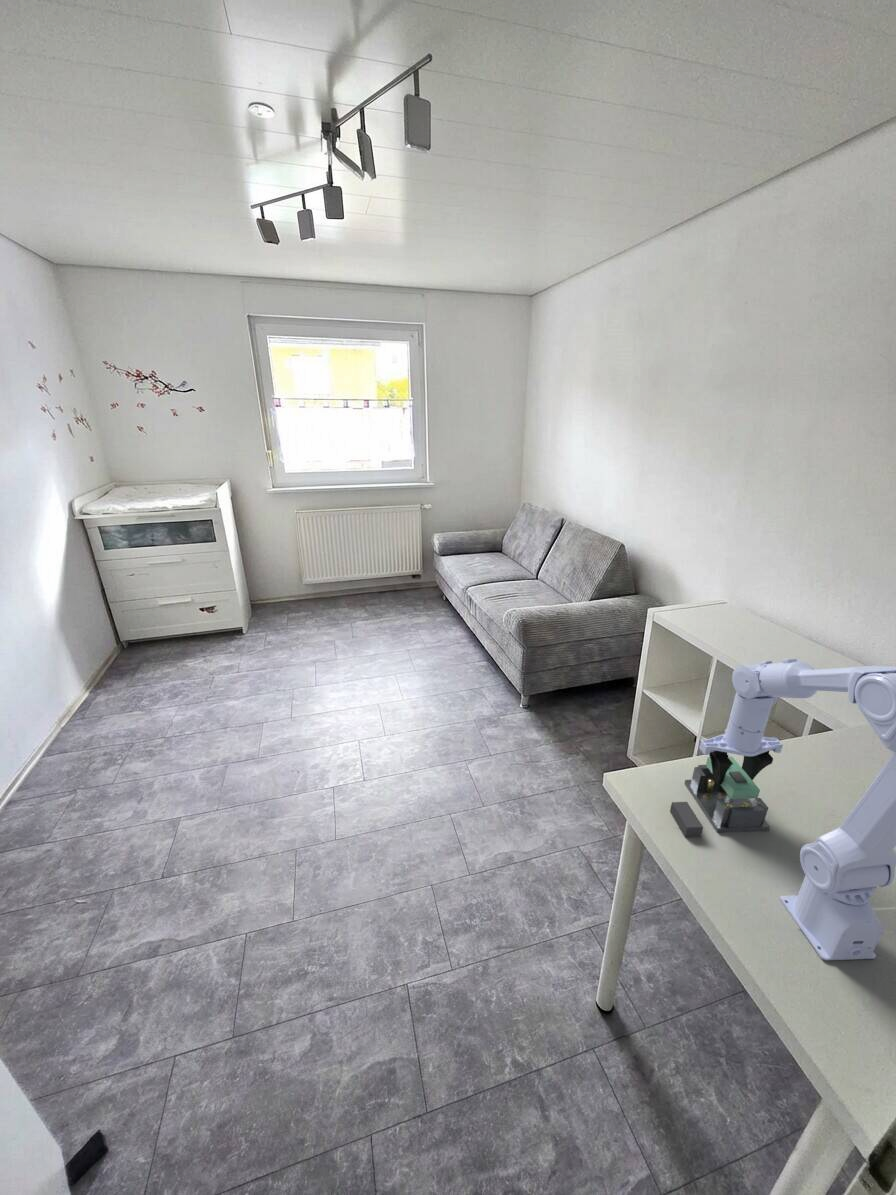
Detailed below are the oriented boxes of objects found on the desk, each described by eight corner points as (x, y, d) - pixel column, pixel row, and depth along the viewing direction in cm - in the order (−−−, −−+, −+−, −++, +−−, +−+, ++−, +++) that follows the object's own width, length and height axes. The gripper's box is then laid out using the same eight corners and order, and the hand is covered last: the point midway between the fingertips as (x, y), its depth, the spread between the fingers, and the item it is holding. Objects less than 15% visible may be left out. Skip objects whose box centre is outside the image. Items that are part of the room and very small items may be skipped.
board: (730, 764, 97) (732, 754, 96) (757, 798, 88) (760, 787, 88) (705, 764, 97) (708, 754, 96) (731, 798, 88) (734, 788, 87)
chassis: (730, 782, 101) (735, 763, 99) (769, 830, 89) (775, 810, 87) (684, 783, 100) (688, 764, 99) (716, 832, 89) (722, 812, 87)
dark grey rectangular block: (700, 836, 88) (703, 827, 87) (684, 837, 88) (687, 827, 87) (684, 811, 94) (687, 801, 93) (669, 811, 94) (671, 802, 93)
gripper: (771, 708, 91) (754, 764, 96) (697, 710, 91) (684, 766, 96) (797, 732, 85) (778, 790, 90) (717, 734, 84) (702, 793, 89)
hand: (731, 780), depth 92 cm, fingers closed on board, 5 cm apart
